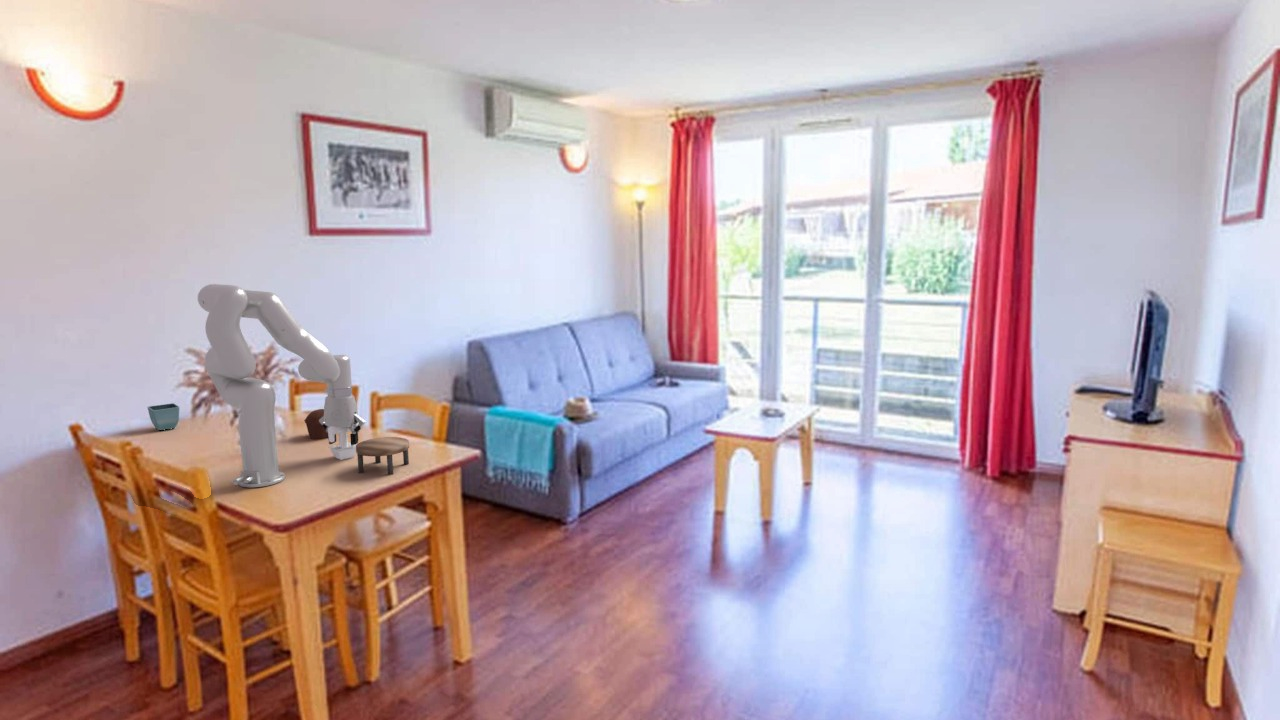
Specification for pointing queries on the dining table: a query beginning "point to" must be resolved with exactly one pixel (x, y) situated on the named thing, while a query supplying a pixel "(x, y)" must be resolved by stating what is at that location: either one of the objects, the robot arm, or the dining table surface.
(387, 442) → the walnut stool
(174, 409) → the flower pot
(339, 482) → the dining table surface
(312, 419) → the muffin
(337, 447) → the figurine
